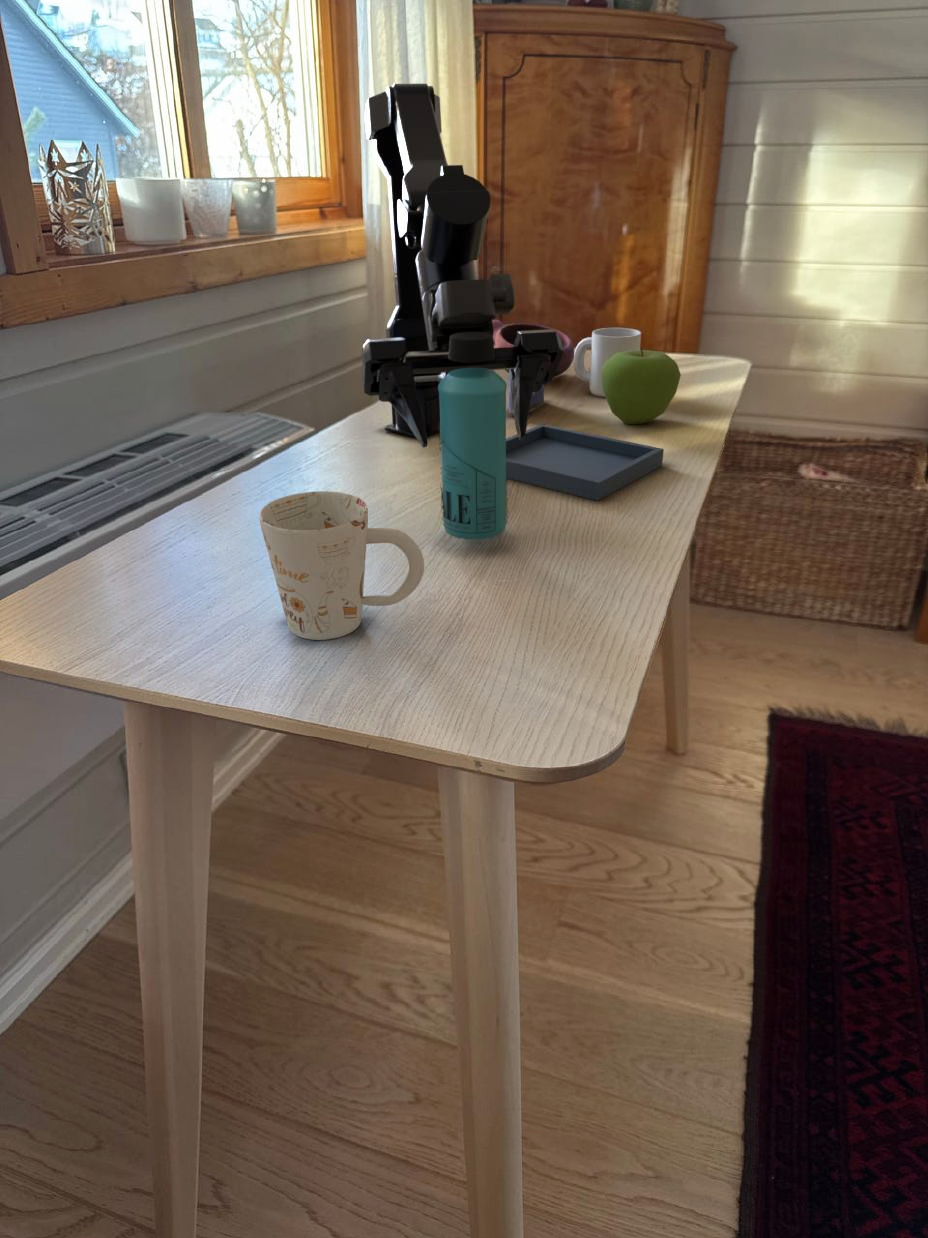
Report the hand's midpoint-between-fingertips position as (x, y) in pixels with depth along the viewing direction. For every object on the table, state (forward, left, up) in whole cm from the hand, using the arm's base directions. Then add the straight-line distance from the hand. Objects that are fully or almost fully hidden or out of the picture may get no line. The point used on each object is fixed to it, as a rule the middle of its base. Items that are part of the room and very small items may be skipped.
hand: (474, 441), depth 83 cm
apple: (-8, +46, -10) cm, 48 cm away
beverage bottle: (0, 0, -10) cm, 10 cm away
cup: (-20, +57, -10) cm, 62 cm away
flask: (-24, +42, -10) cm, 50 cm away
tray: (-5, +24, -10) cm, 27 cm away
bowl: (-35, +57, -10) cm, 68 cm away
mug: (+2, -19, -10) cm, 22 cm away
